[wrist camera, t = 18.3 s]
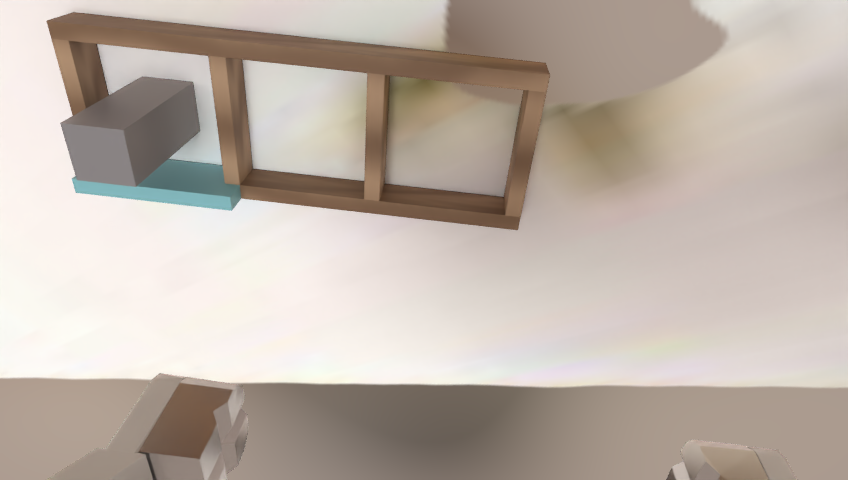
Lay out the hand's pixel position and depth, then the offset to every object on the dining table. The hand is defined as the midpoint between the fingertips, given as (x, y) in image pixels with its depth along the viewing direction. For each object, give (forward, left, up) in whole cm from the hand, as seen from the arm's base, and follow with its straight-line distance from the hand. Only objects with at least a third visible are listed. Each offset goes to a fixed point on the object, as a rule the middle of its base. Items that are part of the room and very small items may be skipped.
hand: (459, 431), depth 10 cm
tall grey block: (+8, -23, -34) cm, 42 cm away
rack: (+8, -12, -34) cm, 37 cm away
